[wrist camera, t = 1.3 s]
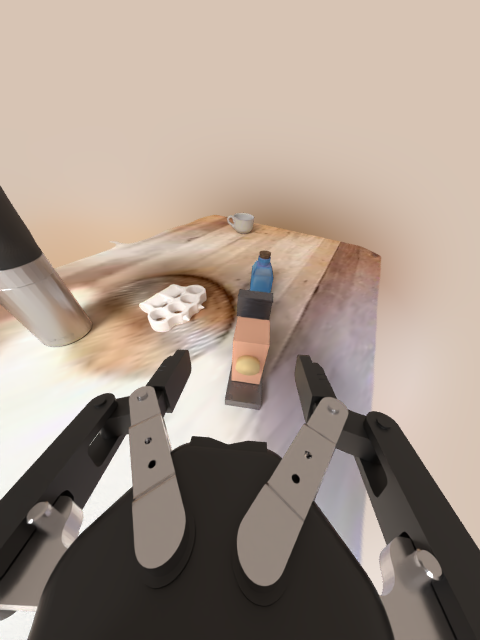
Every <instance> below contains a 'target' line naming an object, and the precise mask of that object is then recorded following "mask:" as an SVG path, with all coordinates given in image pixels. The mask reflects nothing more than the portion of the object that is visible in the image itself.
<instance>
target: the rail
mask: <svg viewBox="0 0 480 640" xmlns="http://www.w3.org/2000/svg"><path fill="white" fill-rule="evenodd" d="M272 303H273V293H267V292H259V291H251V290H242V289H240V290H239V294H238V304H237V316H241V317H246V318H253V319H261V320H269V316H270V312H271V307H272ZM231 378H232V365H231V371H230V376H229V381H228V386H227V392H226V397H225V405H232V406H238V407H244V408H251V409H257V410H259V409H260V406H261V392H262V376H261V379H260V383H259V384H253V383H246V382H239V381H232V380H231Z"/></svg>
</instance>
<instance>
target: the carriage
mask: <svg viewBox="0 0 480 640" xmlns="http://www.w3.org/2000/svg"><path fill="white" fill-rule="evenodd" d="M269 341H270V321H269V320H261V319H253V318H246V317H238V319H237V324H236V329H235V334H234V339H233V356H232V378H231V380H232V381H239V382H246V383H253V384H259V383H260V379H261V376H262V372H263V368H264V364H265V360H266V357H267V353H268V349H269Z"/></svg>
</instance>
